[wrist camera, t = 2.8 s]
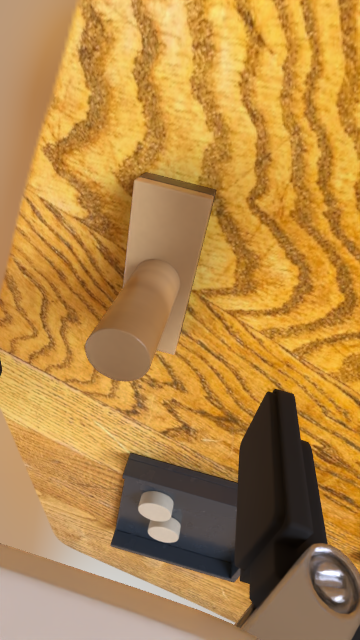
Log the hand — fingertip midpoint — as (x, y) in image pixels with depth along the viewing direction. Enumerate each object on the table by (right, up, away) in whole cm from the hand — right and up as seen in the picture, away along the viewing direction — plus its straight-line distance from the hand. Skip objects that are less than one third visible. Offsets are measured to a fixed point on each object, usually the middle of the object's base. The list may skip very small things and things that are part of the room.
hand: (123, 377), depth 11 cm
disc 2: (0, -19, +22) cm, 29 cm away
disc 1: (0, -15, +20) cm, 25 cm away
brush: (+1, +5, +7) cm, 9 cm away
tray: (+3, -18, +22) cm, 28 cm away
